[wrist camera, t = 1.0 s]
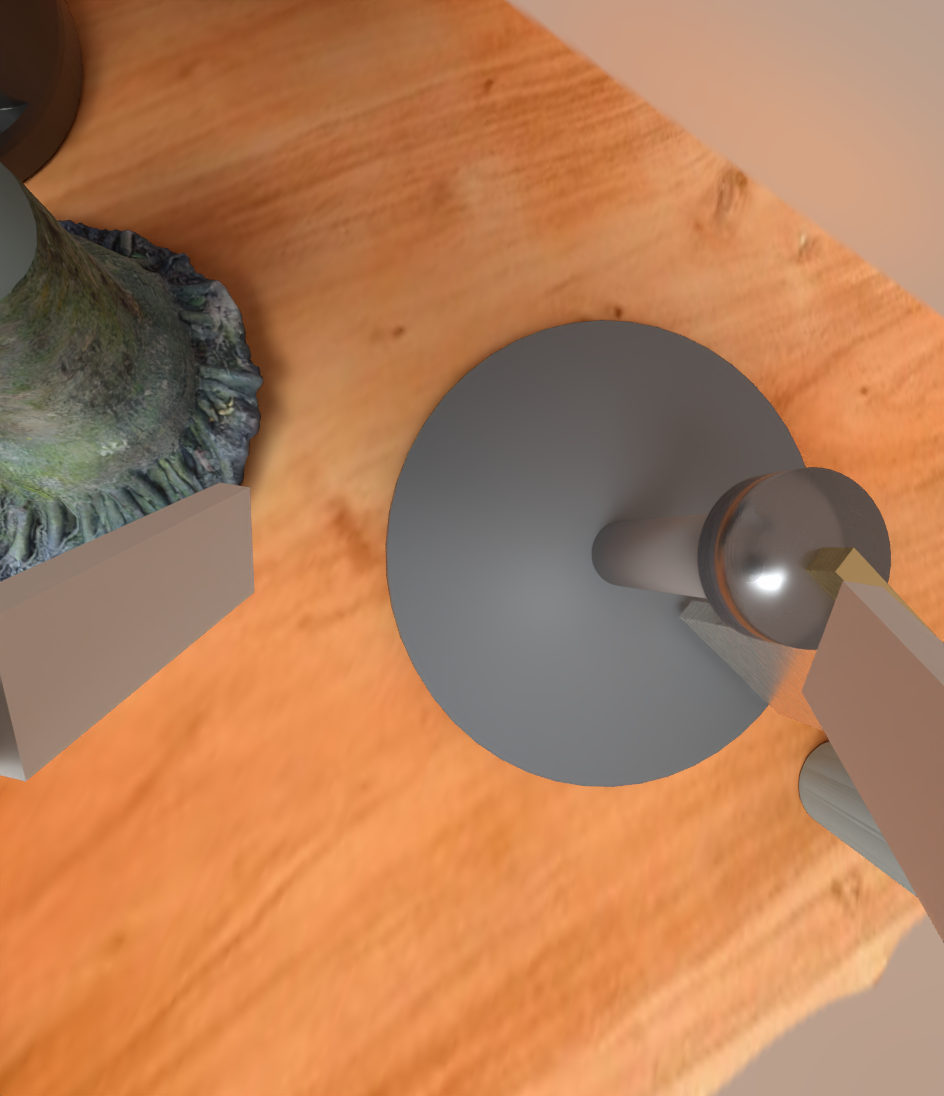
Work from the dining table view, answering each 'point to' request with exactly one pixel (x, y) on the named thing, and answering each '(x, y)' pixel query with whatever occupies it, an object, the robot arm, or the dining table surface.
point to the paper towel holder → (578, 549)
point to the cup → (845, 810)
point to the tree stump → (109, 381)
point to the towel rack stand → (784, 575)
